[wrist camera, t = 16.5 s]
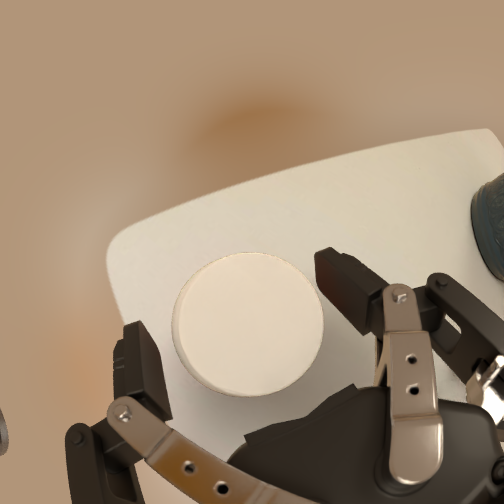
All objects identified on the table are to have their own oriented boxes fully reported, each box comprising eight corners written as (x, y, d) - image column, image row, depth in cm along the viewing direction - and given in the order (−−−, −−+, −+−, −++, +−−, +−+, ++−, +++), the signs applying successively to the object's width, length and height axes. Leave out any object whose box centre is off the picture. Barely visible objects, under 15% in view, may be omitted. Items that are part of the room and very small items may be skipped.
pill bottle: (295, 317, 19) (377, 299, 9) (246, 387, 18) (278, 451, 7) (225, 267, 20) (232, 195, 9) (173, 336, 18) (117, 342, 8)
